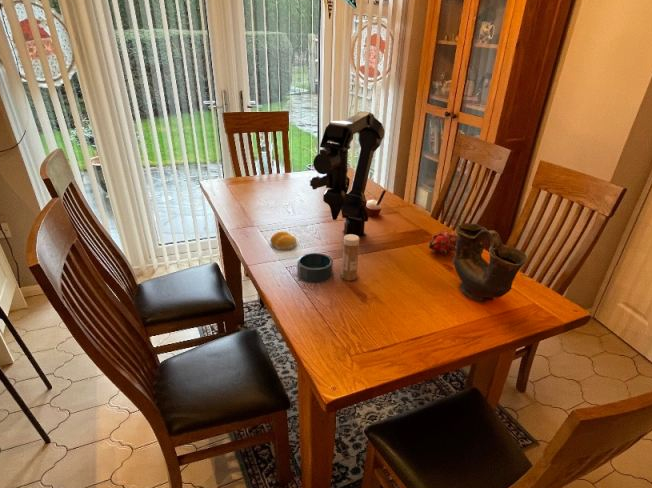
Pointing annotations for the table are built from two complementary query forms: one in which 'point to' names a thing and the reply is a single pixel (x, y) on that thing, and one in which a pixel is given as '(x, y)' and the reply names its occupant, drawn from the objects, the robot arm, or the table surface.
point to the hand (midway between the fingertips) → (336, 214)
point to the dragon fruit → (443, 243)
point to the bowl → (315, 267)
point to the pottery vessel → (485, 263)
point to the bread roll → (283, 240)
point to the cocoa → (375, 206)
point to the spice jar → (350, 256)
